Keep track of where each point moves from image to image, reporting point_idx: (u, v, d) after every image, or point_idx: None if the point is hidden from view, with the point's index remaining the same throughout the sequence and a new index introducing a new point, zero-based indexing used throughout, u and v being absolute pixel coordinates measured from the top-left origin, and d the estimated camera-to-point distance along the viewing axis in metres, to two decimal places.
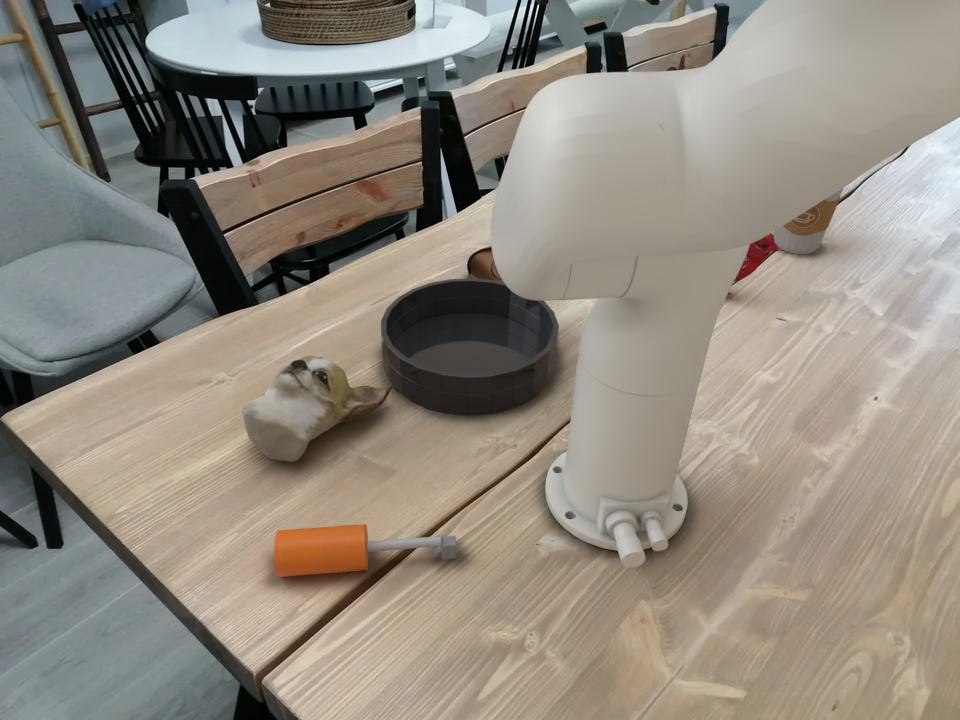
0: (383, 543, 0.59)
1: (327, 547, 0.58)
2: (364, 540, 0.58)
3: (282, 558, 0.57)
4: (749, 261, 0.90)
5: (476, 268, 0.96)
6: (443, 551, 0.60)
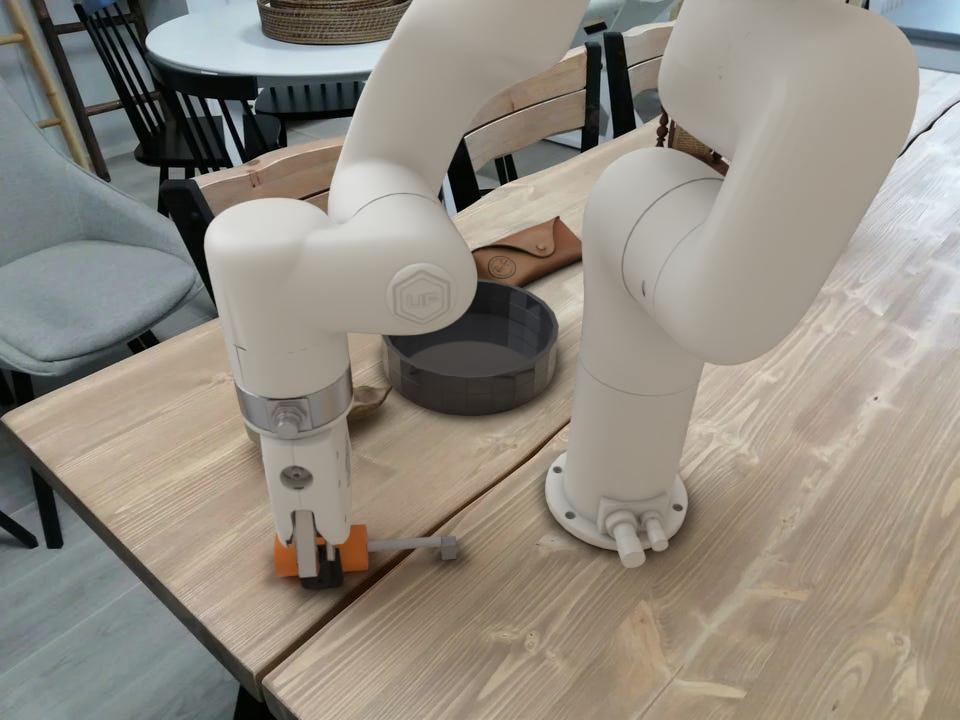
0: (383, 543, 0.59)
1: None
2: (364, 540, 0.58)
3: (281, 558, 0.57)
4: None
5: None
6: (443, 551, 0.60)
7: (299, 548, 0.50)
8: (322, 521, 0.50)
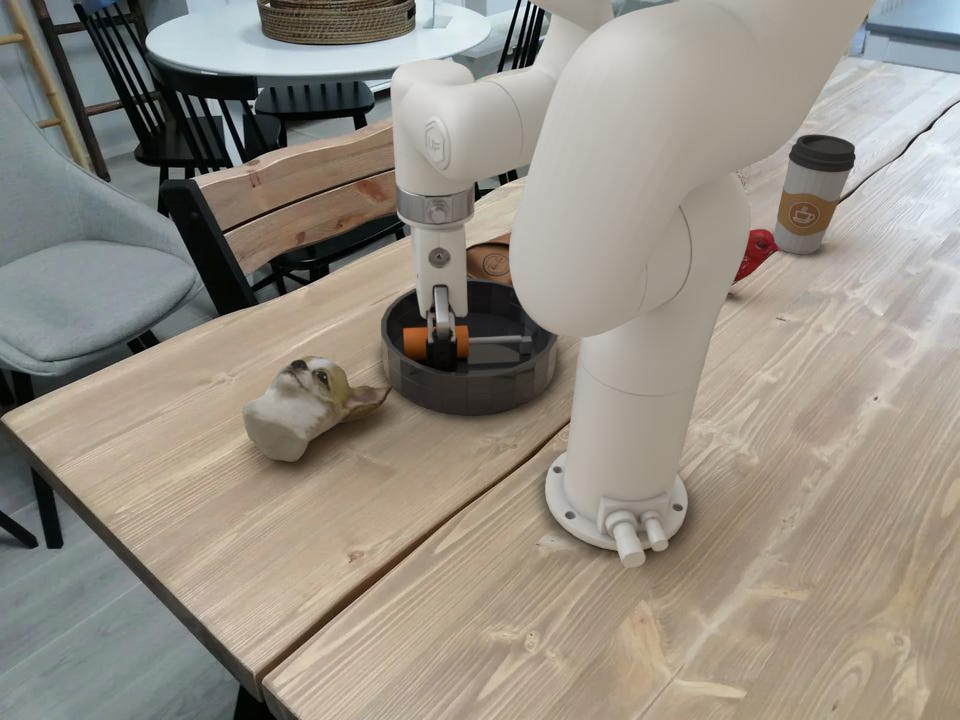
0: (479, 338, 0.82)
1: None
2: (467, 333, 0.80)
3: (409, 344, 0.80)
4: (749, 261, 0.90)
5: (468, 263, 0.97)
6: (522, 346, 0.83)
7: (437, 306, 0.70)
8: (453, 294, 0.72)
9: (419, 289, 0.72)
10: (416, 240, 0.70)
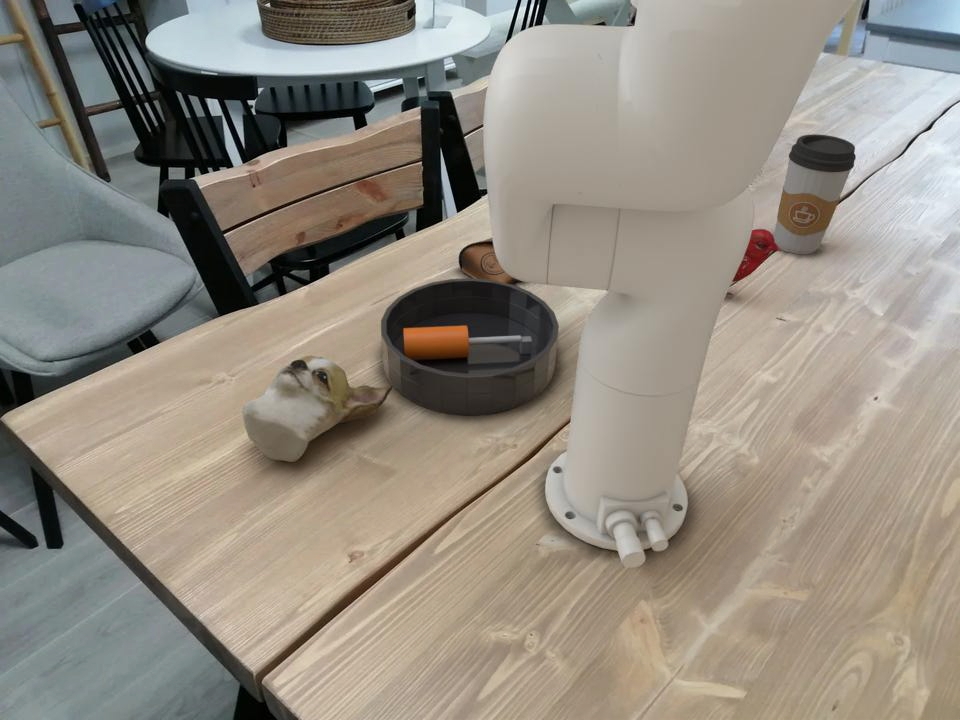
0: (479, 338, 0.82)
1: (441, 336, 0.80)
2: (467, 333, 0.81)
3: (409, 343, 0.80)
4: (749, 261, 0.90)
5: (466, 262, 0.98)
6: (522, 346, 0.83)
7: None
8: None
9: None
10: None
